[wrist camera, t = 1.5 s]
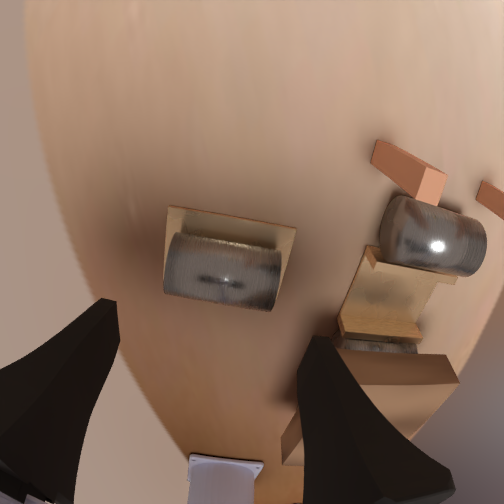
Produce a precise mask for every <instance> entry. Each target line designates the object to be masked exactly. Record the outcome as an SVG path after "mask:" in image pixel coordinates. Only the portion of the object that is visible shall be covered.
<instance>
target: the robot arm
mask: <svg viewBox="0 0 504 504" xmlns="http://www.w3.org/2000/svg"><path fill="white" fill-rule="evenodd" d="M119 343H120V334H119V325H118V315H117V304H116V301H112V300H108V299H104V298H101V299H99V300H98V301H97V302H96V303H94V304H93V305H92V306H91V307H89V308H88V309H87V310H86V311H85V312H84V313H82V314H81V315H80V316H79V317H77V318H76V319H75V320H74V321H73V322H71V323H70V324H69V325H68V326H67V327H65V328H64V329H63V330H62V331H60V332H59V333H58V334H56V335H55V336H54V337H52V338H51V339H49V340H48V341H47V342H45V343H44V344H43V345H41V346H40V347H38V348H37V349H36V350H34V351H32V352H31V353H29V354H28V355H26V356H24V357H23V358H21V359H19V360H17V361H16V362H14V363H12V364H10V365H8V366H6V367H4V368H2V369H0V504H47V503H45V501H47V502H50V503H52V504H54V503H56V504H74V493H75V485H76V477H77V471H78V465H79V460H80V455H81V450H82V446H83V442H84V437H85V434H86V430H87V426H88V423H89V419H90V416H91V413H92V411H93V408H94V406H95V403H96V401H97V399H98V396H99V394H100V392H101V390H102V387H103V385H104V383H105V381H106V378H107V376H108V374H109V372H110V369H111V367H112V365H113V362H114V359H115V356H116V353H117V350H118V346H119ZM297 396H298V405H299V413H300V420H301V428H302V436H303V444H304V492H303V504H439V503H441V502H442V501H444V500H446V499H447V498H449V497H451V496H452V495H453V494H454V492H455V490H456V489H455V485H454V482H453V478H452V475H451V472H450V470H449V469H448V468H446V467H444V466H443V465H441V464H440V463H438V462H437V461H435V460H434V459H432V458H430V457H429V456H428V455H426V454H425V453H424V452H422V451H421V450H420V449H418V448H417V447H416V446H415V445H413V444H412V443H411V442H410V441H409V440H408V439H407V438H406V437H404V436H403V435H402V434H401V433H400V432H399V431H398V430H397V429H396V428H395V427H394V426H393V425H392V424H391V423H390V422H389V421H388V420H387V419H386V418H385V416H384V415H383V414H382V413H381V412H380V411H379V410H378V409H377V407H376V406H375V405H374V404H373V402H372V401H371V400H370V398H369V397H368V396H367V395H366V393H365V392H364V391H363V389H362V388H361V386H360V385H359V384H358V382H357V381H356V379H355V378H354V376H353V375H352V373H351V372H350V370H349V369H348V367H347V365H346V364H345V362H344V361H343V359H342V358H341V356H340V354H339V353H338V351H337V349H336V348H335V346H334V345H333V343H332V342H331V340H330V338H329V337H322V336H313V337H312V339H311V342H310V344H309V346H308V348H307V351H306V353H305V355H304V357H303V360H302V362H301V364H300V366H299V368H298V370H297ZM263 467H264V463H262V462H254V461H243V460H233V459H224V458H216V457H209V456H202V455H196V454H191V455H190V458H189V468H188V479H187V480H188V481H189V482H190V487H189V496H188V503H187V504H254V480H255V478H256V477H257V476H258V474H259V473H260V471H261V470H262V468H263Z"/></svg>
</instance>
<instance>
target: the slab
mask: <svg viewBox="0 0 504 504" xmlns="http://www.w3.org/2000/svg"><path fill="white" fill-rule="evenodd" d="M336 349H337V351H338V353H339V354H340V356H341V358H342V359H343V361H344V362H345V364H346V365H347V367H348V369H349V370H350V372H351V373H352V375H353V376H354V378H355V379H356V381H357V382H358V384H359V385H360V386H361V388H362V389H363V391H364V392H365V393H366V395H367V396H368V397H369V398H370V400H371V401H372V402H373V404H374V405H375V406H376V407H377V409H378V410H379V411H380V412H381V413H382V414H383V415H384V416H385V418H386V419H387V420H388V421H389V422H390V423H391V424H392V425H393V426H394V427H395V428H396V429H397V430H398V431H399V432H400V433H401V434H402V435H403V436H404V437H406V438H407V439H408V438H409V437H410V436H411V435H412V434H413V433H414V432H415V431H417V430H418V429H419V428H420V427H421V426H422V425H423V424H424V423H425V422H426V420H427V419H428V418H429V417H430V416H431V415H432V414H433V413H434V412H435V411H436V410H437V409H438V408H439V407H440V406H441V405H442V404H443V402H444V401H445V400H446V399H447V398H448V397H449V396H450V394H451V393H452V392H453V391H454V390H455V389H456V388H457V386H458V385H459V384H460V382H459V380H458V378H457V376H456V374H455V372H454V370H453V368H452V366H451V364H450V362H449V360H448V358H447V356H446V355H440V354H411V353H391V352H375V351H362V350H350V349H338V348H336ZM281 450H282V465H291V466H304V444H303V436H302V428H301V420H300V413H299V408H298V409H297V411H296V413H295V415H294V416H293V418H292V420H291V421H290V423H289V425H288V426H287V428H286V430H285V431H284V433H283V435H282V436H281Z"/></svg>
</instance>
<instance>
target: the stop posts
mask: <svg viewBox="0 0 504 504" xmlns="http://www.w3.org/2000/svg"><path fill="white" fill-rule="evenodd" d="M371 164H372V165H373V166H375V167H376V168H377V169H379V170H380V171H381V172H382V173H384V174H385V175H386V176H388V177H389V178H390V179H391V180H393V181H394V182H395V183H396V184H397V185H399V186H400V187H401V188H402V189H404V190H405V191H406V192H407V193H408V194H410V195H411V196H412V197H413V198H414V199H416V200H419V201H422V202H425V203H428V204H432V205H435V206H437V205H438V203H439V200H440V197H441V194H442V192H443V189H444V186H445V183H446V180H447V177H448V175H447V174H445V173H443V172H442V171H440V170H438V169H437V168H435V167H433V166H431V165H430V164H428V163H426V162H424V161H423V160H421V159H419V158H417V157H415V156H414V155H412V154H410V153H408V152H406V151H404V150H402V149H400V148H398V147H397V146H394V145H391V144H388V143H385V142H382V141H379V140H377V142H376V146H375V149H374V153H373V156H372V159H371ZM476 200H477V201H478V202H480V203H481V204H483V205H484V206H485V207H487V208H488V209H489V210H491V211H492V212H494V213H495V214H496V215H498V216H499V217H500V218H502V219H503V220H504V192H503V191H501V190H499V189H498V188H496V187H494V186H493V185H491V184H488V183H486V182H484V181H482V184H481V187H480V189H479V192H478V195H477V198H476Z"/></svg>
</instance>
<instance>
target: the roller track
mask: <svg viewBox="0 0 504 504" xmlns="http://www.w3.org/2000/svg"><path fill="white" fill-rule="evenodd" d="M296 231H297V229H296V228H293V227H288V226H282V225H277V224H272V223H267V222H261V221H256V220H250V219H245V218H239V217H234V216H228V215H223V214H217V213H211V212H205V211H200V210H194V209H188V208H182V207H176V206H170V205H169V206H168V212H167V224H166V238H165V253H164V271H165V264H166V258H167V254H168V250H169V246H170V243H171V240H172V237H173V235H174V234H175V232H179V233H185V234H190V235H196V236H202V237H207V238H213V239H219V240H224V241H230V242H236V243H241V244H247V245H252V246H258V247H263V248H269V249H275V250H280V251H281V255H282V266H281V276H280V282H279V288H278V292H277V296H278V293H279V290H280V286H281V283H282V279H283V276H284V273H285V269H286V266H287V262H288V259H289V255H290V252H291V248H292V245H293V241H294V238H295V234H296ZM379 239H380V248H378V247H373V246H368V245H367V247H366V250H365V252H364V255H363V258H362V260H361V263H360V265H359V268H358V270H357V272H356V275H355V277H354V280H353V282H352V285H351V287H350V289H349V292H348V294H347V296H346V299H345V301H344V303H343V306H342V308H341V310H340V312H339V315H338V317H337V321H338V324H339V328H340V330H339V331H337V332H336V333H335V334H334V336H333V338H332V340H331V342H332V343H333V345H334V346H335V348H338V349H350V350H362V351H375V352H391V353H411V354H418V353H417V347H416V344H420V342H421V341H422V339H423V337H422V335H421V333H420V331H419V329H418V327H417V325H416V323H415V322H416V321H417V319H418V317H419V316H420V314H421V312H422V310H423V309H424V307H425V305H426V303H427V301H428V299H429V298H430V296H431V294H432V292H433V290H434V288H435V286H436V284H437V282H440V283H446V284H451V285H455V283H456V281H457V279H458V277H457V276H461V277H468V276H471V275H472V274H474V273H475V272H476V271H477V270H478V269H479V267H480V266H481V264H482V262H483V260H484V257H485V254H486V249H487V237H486V233H485V230H484V227H483V226H482V224H481V223H480V222H479V221H478V220H476V219H473V218H470V217H467V216H464V215H462V214H459V213H456V212H453V211H450V210H447V209H444V208H441V207H438V206H435V205H432V204H428V203H425V202H422V201H419V200H416V199H413V198H409V197H406V196H403V195H400V196H397V197H395V198H394V199H393V200H392V201H391V202H390V204H389V205H388V207H387V209H386V211H385V213H384V216H383V219H382V223H381V228H380V238H379ZM164 271H163V280H164ZM456 275H457V276H456ZM277 296H276V300H277ZM298 408H299V405H298V407H297V409H298Z"/></svg>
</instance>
